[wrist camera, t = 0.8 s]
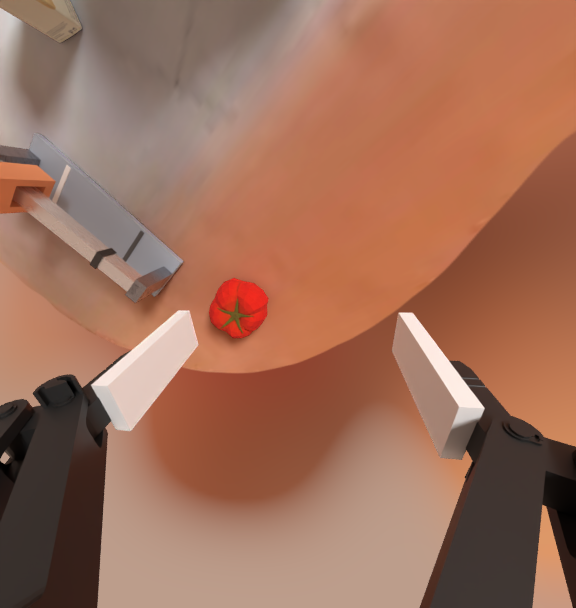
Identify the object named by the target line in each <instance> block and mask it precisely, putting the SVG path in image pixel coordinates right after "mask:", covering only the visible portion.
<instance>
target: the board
mask: <svg viewBox="0 0 576 608" xmlns="http://www.w3.org/2000/svg"><path fill="white" fill-rule="evenodd" d="M29 150H30V151H31V152H32V153H34V154H35V155H36V156H37V157H38V158H39V159H40V160H41V161H40V164H39V167H40V168H41V169H42V170H43V171H44V172H46V173H47V174H48V175H49V176H50V177H51V178H53V179H54V180H55V181H56V182H55V184H54V187H53V189H52V192H51V194H50V197H49V199H51V200H52V201H53V202H54V203H55V204H57V205H58V206H59V207H60V208H61V209H63V210H64V211H65V212H66V213H67V214H69V215H70V216H71V217H72V218H73V219H75V220H76V221H77V222H78V223H79V224H81V225H82V226H83V227H84V228H85V229H87V230H88V231H89V232H90V233H91V234H93V235H94V236H95V237H96V238H97V239H99V240H100V241H101V242H102V243H103V244H105V245H106V246H107V247H108V248H112V249H113V250H115V251H116V252H117V253H116V254H117V255H118V256H119V257H120V258H121V259H123V260H124V261H125V262H126V263H127V264H129V265H130V266H131V267H132V268H133V269H135V270H136V271H137V272H138V273H139V274H141V275H142V276H144V275H146V274H148V273H150V272H152V271H154V270H157V269H159V268H161V267H163V266H164V267H165V268H167V269H168V270H169V271H170V272H171V273H172V275H171V276H170V278H169V279H168V280H167V282H168V281H169V280H170V279H171V277H172V276H173V275H174V274H175V272H176V271H177V270H178V268H179V267H180V266H181V265H182V263H183V262H184V261H183V260H182V259H181V258H179V257H178V256H177V255H176V254H175V253H174V252H173V251H172V250H170V249H169V248H168V247H167V246H166V245H165V244H164V243H163V242H162V241H160V240H159V239H158V238H157V237H156V236H155V235H154V234H153V233H151V232H150V231H149V230H148V229H147V228H146V227H145V226H144V225H142V224H141V223H140V222H139V221H138V220H137V219H136V218H135V217H133V216H132V215H131V214H130V213H129V212H128V211H127V210H126V209H124V208H123V207H122V206H121V205H120V204H119V203H118V202H117V201H116V200H114V199H113V198H112V197H111V196H110V195H109V194H108V193H107V192H105V191H104V190H103V189H102V188H101V187H100V186H99V185H98V184H96V183H95V182H94V181H93V180H92V179H91V178H90V177H89V176H87V175H86V174H85V173H84V172H83V171H82V170H81V169H80V168H78V167H77V166H76V165H75V164H74V163H73V162H72V161H71V160H70V159H68V158H67V157H66V156H65V155H64V154H63V153H62V152H61V151H59V150H58V149H57V148H56V147H55V146H54V145H53V144H52V143H50V142H49V141H48V140H47V139H46V138H45V137H44V136H43V135H41V134H37V133H34V136H33V139H32V142H31V145H30V148H29ZM167 282H166V283H165V284H164V285H163V287H164V286H165V285H166V284H167ZM163 287H162V288H160V289H158V290H157V291H155V292H153V293H152V295H153V296H154V297H155V296H157V295H158V294H159V293H160V291H161V290H162V289H163Z"/></svg>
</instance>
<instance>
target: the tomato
mask: <svg viewBox="0 0 576 608" xmlns="http://www.w3.org/2000/svg"><path fill="white" fill-rule="evenodd" d="M267 303H268V297H267V295H266V294H265V292H264V291H263V290H262V289H261V288H260V287H258V286H257V285H256V284H254V283H250V282H245V281H241V280H238V279H235V278H233V279H231V280H228V281H226V282H224V283H223V284H222V285H221V286H220V288H219V289H218V291H217V294H216V296H215V299H214V300H213V302H212V304H211V305H210V310H209V315H210V319H211V323H212V324H214V325H215V326H216V327H217V328H218V329H219V330H223V331H226V332H227V333H228V334H229V335H230V336H231V337H232V338H243V337H246V336H248V335H250V334H251V333H252V331H254V330H256V329H257V328H258V327H259V326H260V325H261V324H262V322H263V321H264V319H265V318H266V316H267Z"/></svg>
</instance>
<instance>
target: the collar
mask: <svg viewBox="0 0 576 608" xmlns="http://www.w3.org/2000/svg"><path fill="white" fill-rule="evenodd" d="M55 182H56V181H55V180H54V179H53V178H51V177H50V176H49V175H48V174H47V173H46V172H44V171H43V170H42V169H41V168H40V167H38V166H37V165H29V164H19V163H9V162H0V214H2V213H18V212H27V211H26V210H24V209H23V208H22V207H21V206H19V205H18V204H17V203H16V202H14V201H13V200H12V198H13V195H14V192H15V189H16V186H35V187H36V188H37V189H39V190H40V191H41V192H42V193H43V194H45V195H46V196H47V197H48V198H49V197H50V194H51V192H52V189H53V187H54V184H55Z"/></svg>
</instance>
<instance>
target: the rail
mask: <svg viewBox="0 0 576 608" xmlns="http://www.w3.org/2000/svg"><path fill="white" fill-rule="evenodd" d="M40 161H41V160H40V159H39V158H38V157H37V156H36V155H35V154H34V153H32V152H31V151H30V150H28V149H22V148H15V147H8V146H2V145H0V162H9V163H19V164H29V165H37V166H38V167H39V164H40ZM12 200H13V201H14V202H16V203H17V204H18V205H19V206H21V207H22V208H23V209H24V210H26V211H27V212H28V213H29V214H31V215H32V216H33V217H34V218H36V219H37V220H38V221H39V222H41V223H42V224H43V225H44V226H46V227H47V228H48V229H49V230H51V231H52V232H53V233H54V234H56V235H57V236H58V237H59V238H61V239H62V240H63V241H64V242H66V243H67V244H68V245H69V246H71V247H72V248H73V249H74V250H76V251H77V252H78V253H79V254H81V255H82V256H83V257H84V258H86V259H87V260H88V261H89V262H91V263H90V265H91V266H92V267H94V268H95V269H96V268H98V269H99V270H101V271H102V272H103V273H104V274H106V275H107V276H108V277H109V278H111V279H112V280H113V281H114V282H116V283H117V284H118V285H119V286H121V287H122V288H123V289H124V290H126V291H127V293H126V294H125V295H126V296H127V297H128V298H130V299H131V300H132V301H133V302H135V303H137V302H138V301H140V300H142V299H143V298H145V297H147V296H148V295H150V294H152V293H153V292H155V291H157V290H158V289H160V288H162V287H163V285H164V284H165V283H166V282H167V280H168V279H169V278H170V276H171V275H172V273H171V272H170V271H169V270H168V269H167V268H165V267H164V266H163V267H161V268H159V269H157V270H154V271H152V272H150V273H148V274H146V275H144V276H142V275H141V274H139V273H138V272H137V271H136V270H135V269H133V268H132V267H131V266H130V265H129V264H127V263H126V262H125V261H124V260H123V259H121V258H120V257H119V256H118V255H117V254H116V253H117V252H116V251H115V250H113V249H112V248H108V247H107V246H106V245H105V244H103V243H102V242H101V241H100V240H99V239H97V238H96V237H95V236H94V235H93V234H91V233H90V232H89V231H88V230H87V229H85V228H84V227H83V226H82V225H81V224H79V223H78V222H77V221H76V220H75V219H73V218H72V217H71V216H70V215H69V214H67V213H66V212H65V211H64V210H63V209H61V208H60V207H59V206H58V205H57V204H55V203H54V202H53V201H52V200H51V199H49V198H48V197H47V196H46V195H45V194H43V193H42V192H41V191H40V190H39V189H37V188H36V187H35V186H16V189H15V192H14V195H13V198H12Z"/></svg>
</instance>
